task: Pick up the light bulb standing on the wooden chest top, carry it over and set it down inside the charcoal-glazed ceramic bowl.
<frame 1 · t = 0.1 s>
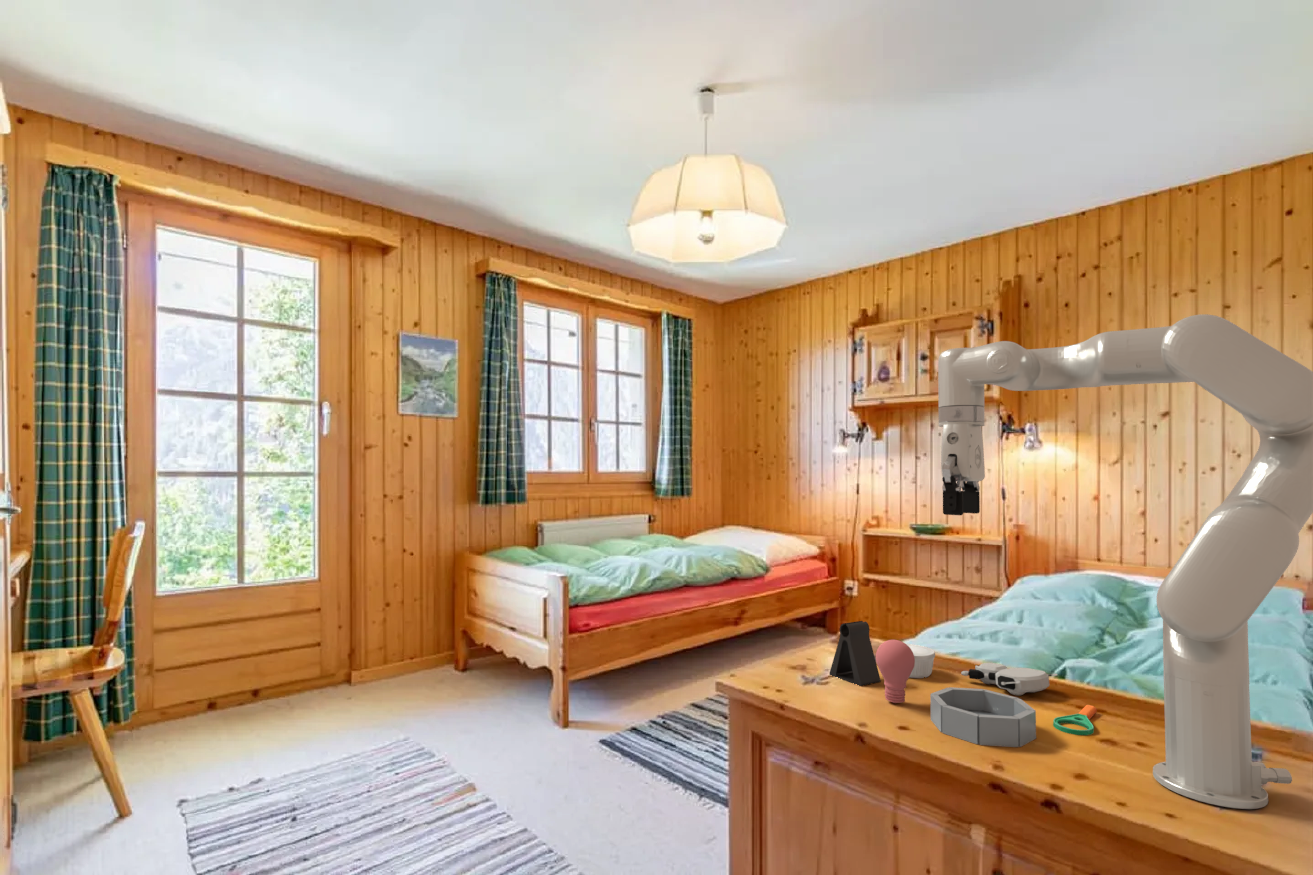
hand: (961, 513, 118), 37 cm above the table, tool pointing down, fingers open, 9 cm apart
ramekin: (908, 673, 149), on the table
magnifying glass: (1080, 725, 120), on the table
light bulb: (895, 704, 129), on the table
robot toy: (1007, 689, 139), on the table
ceramic bowl: (981, 728, 116), on the table
phone stand: (854, 679, 144), on the table
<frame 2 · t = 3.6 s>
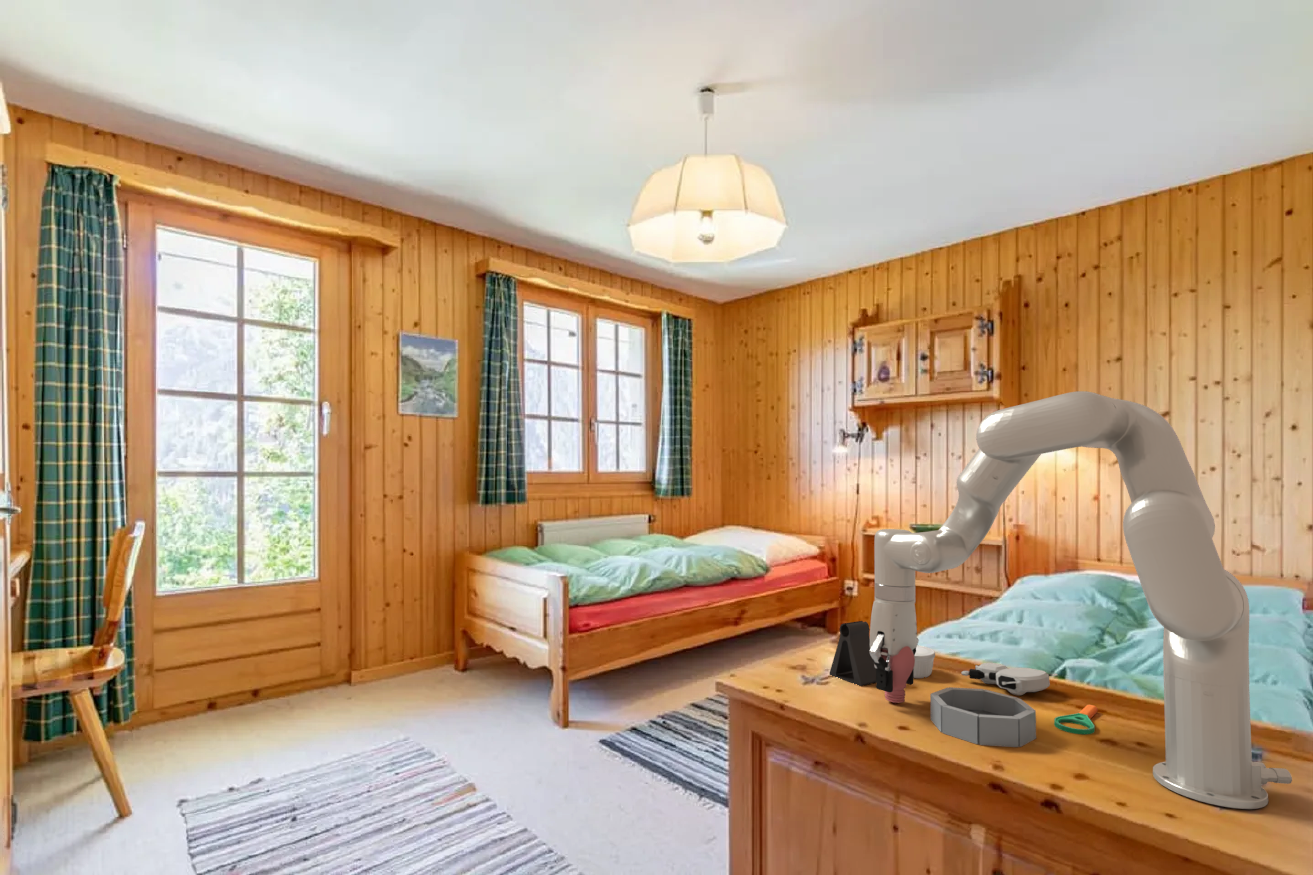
hand: (895, 685, 129), 3 cm above the table, tool pointing down, fingers closed on light bulb, 6 cm apart
light bulb: (895, 704, 129), on the table, touching gripper
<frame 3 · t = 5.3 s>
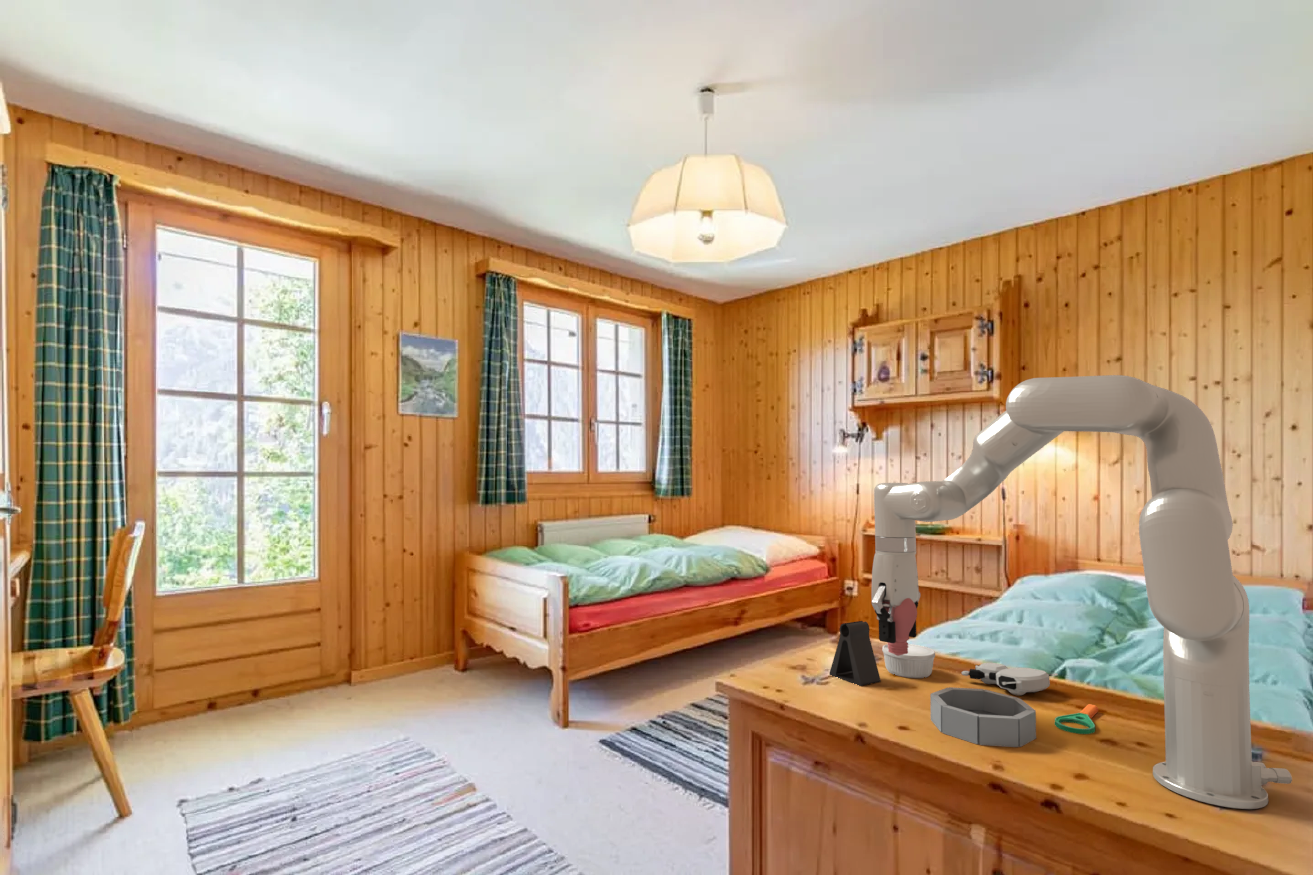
hand: (897, 638, 129), 12 cm above the table, tool pointing down, fingers closed on light bulb, 6 cm apart
light bulb: (898, 656, 129), point 9 cm above the table, touching gripper
everything else where it was.
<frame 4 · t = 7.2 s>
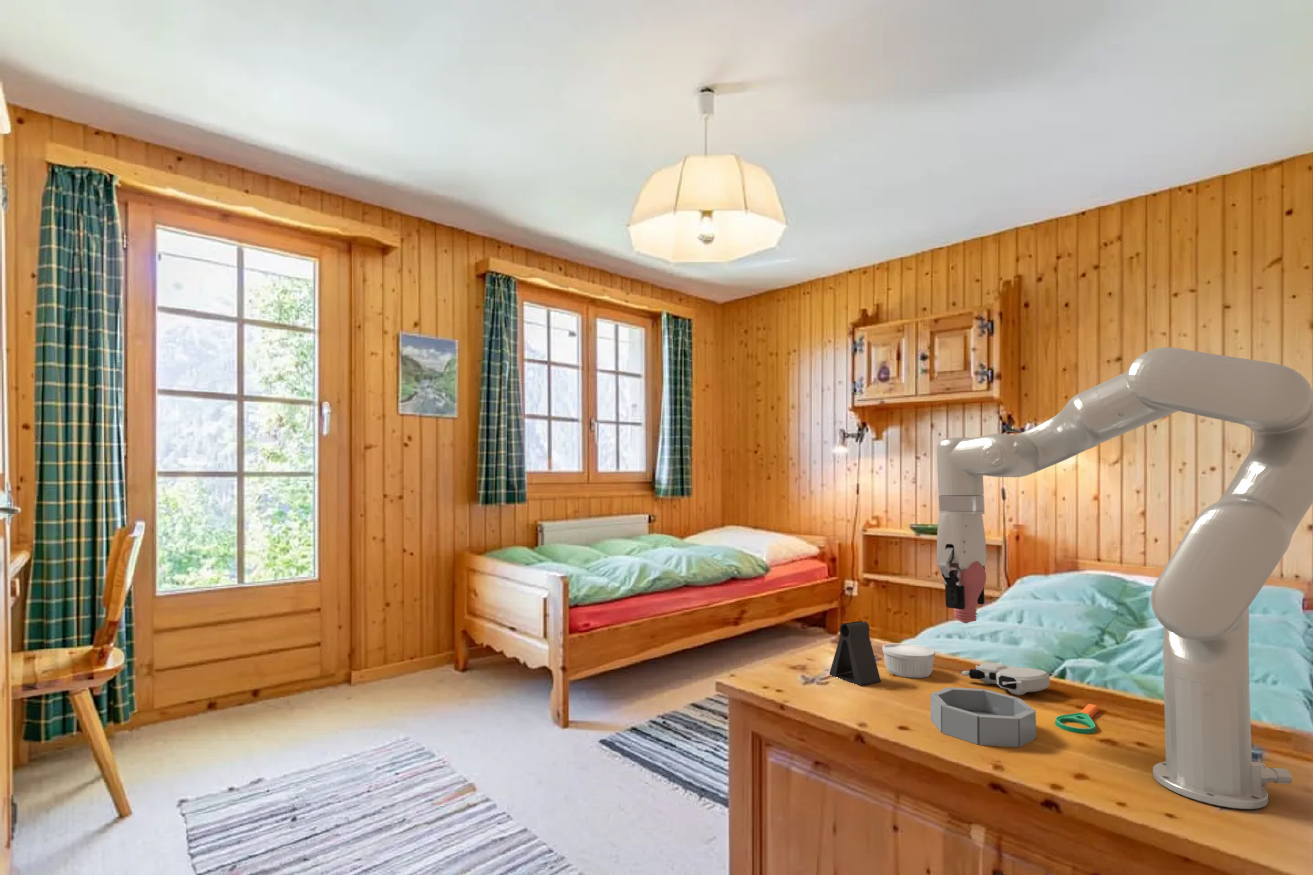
hand: (965, 604, 119), 21 cm above the table, tool pointing down, fingers closed on light bulb, 6 cm apart
light bulb: (966, 624, 119), point 17 cm above the table, touching gripper
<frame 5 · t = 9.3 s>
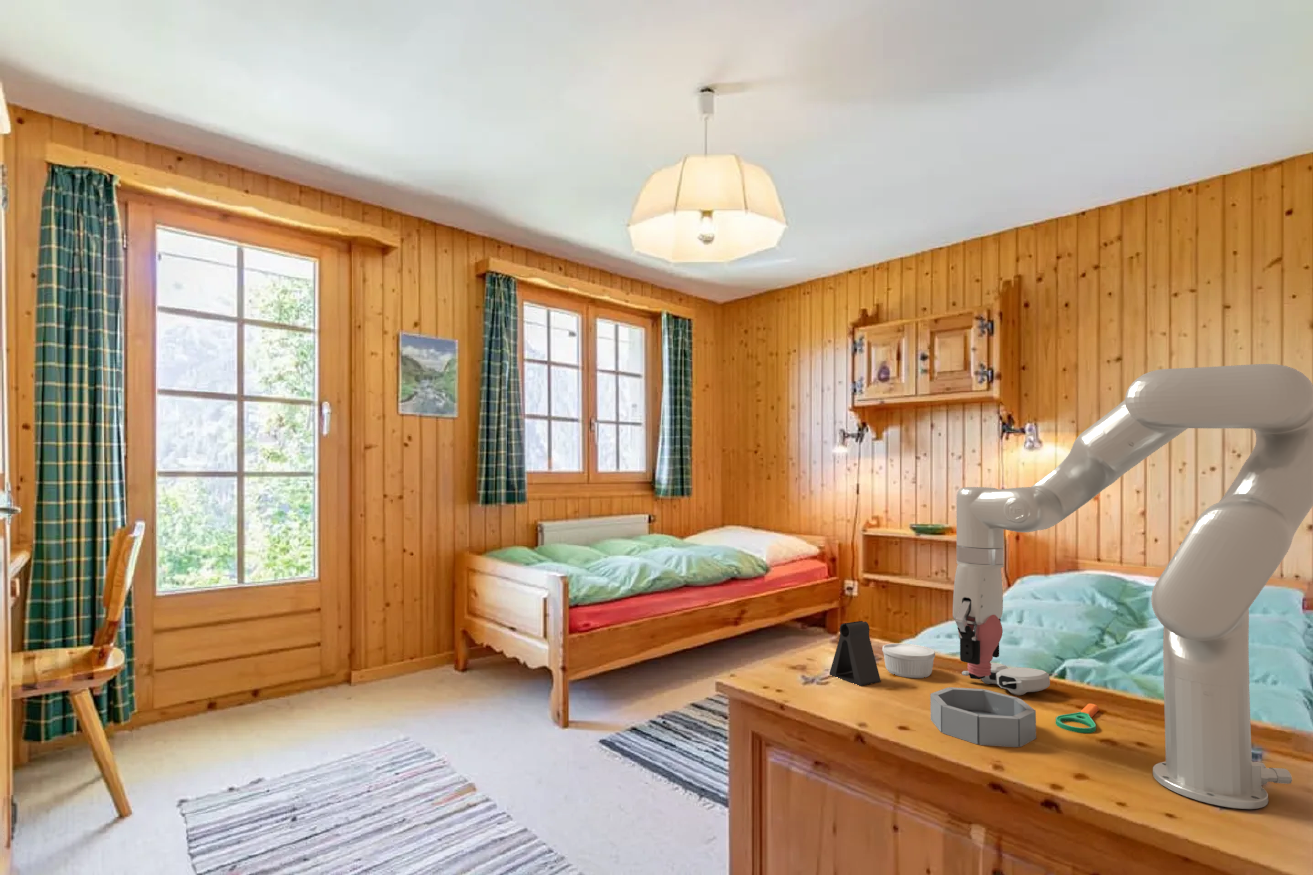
hand: (979, 658, 117), 12 cm above the table, tool pointing down, fingers closed on light bulb, 6 cm apart
light bulb: (979, 678, 117), point 9 cm above the table, touching gripper
when the fingers open (7 cm above the table, at t = 10.9 s): light bulb drops 2 cm, resting on ceramic bowl.
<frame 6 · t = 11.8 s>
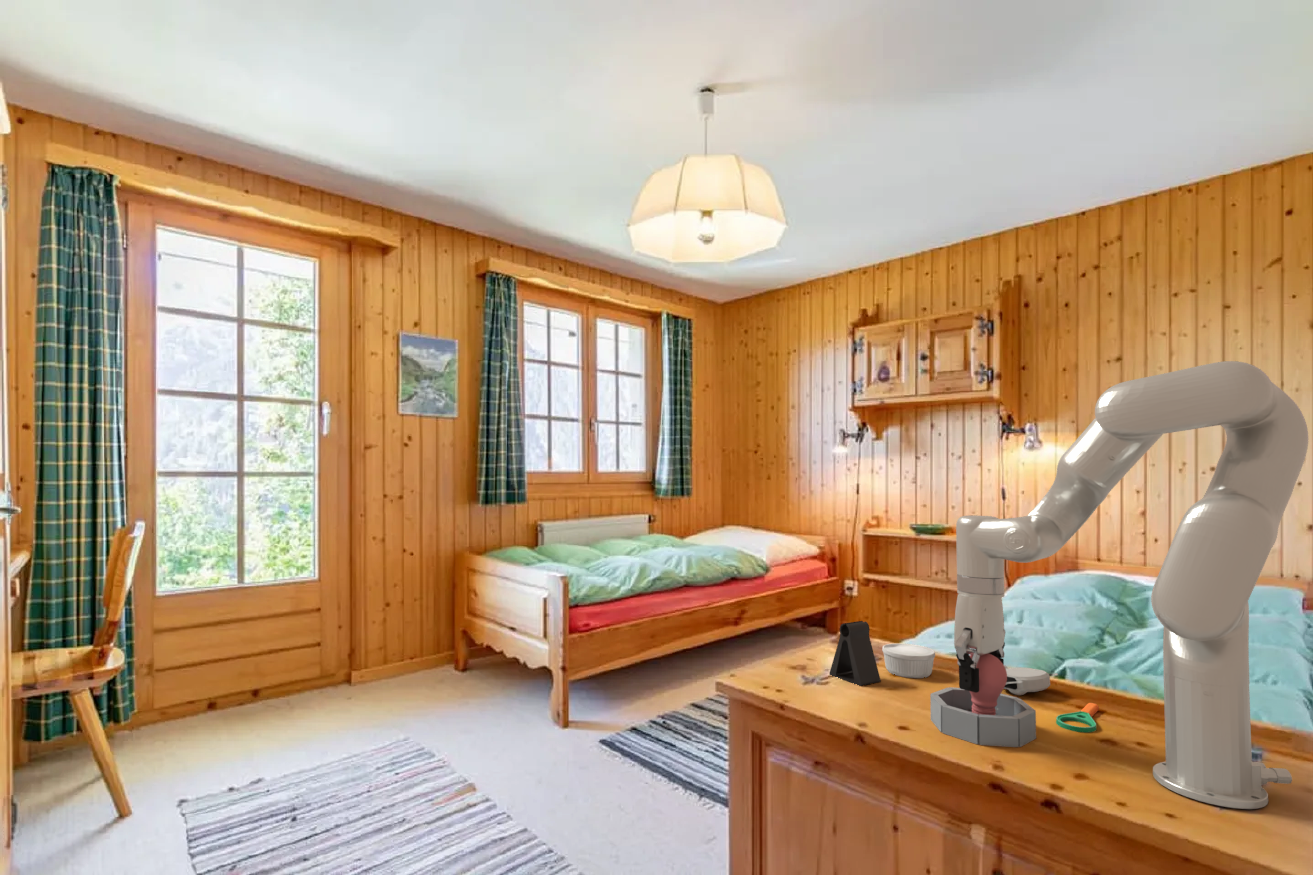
hand: (982, 684, 117), 7 cm above the table, tool pointing down, fingers open, 9 cm apart
light bulb: (984, 723, 116), point 1 cm above the table, touching ceramic bowl
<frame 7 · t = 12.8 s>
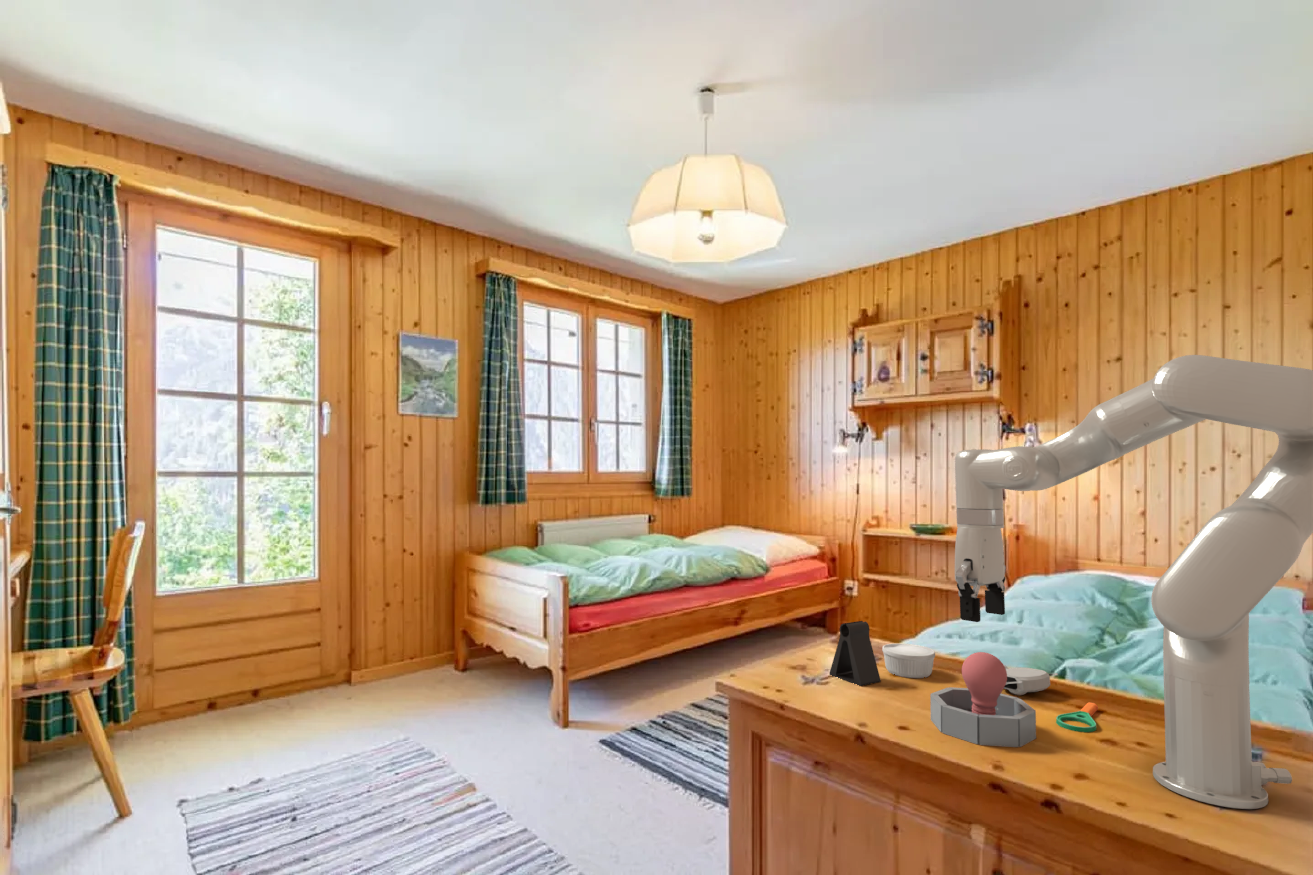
hand: (983, 617, 117), 19 cm above the table, tool pointing down, fingers open, 9 cm apart
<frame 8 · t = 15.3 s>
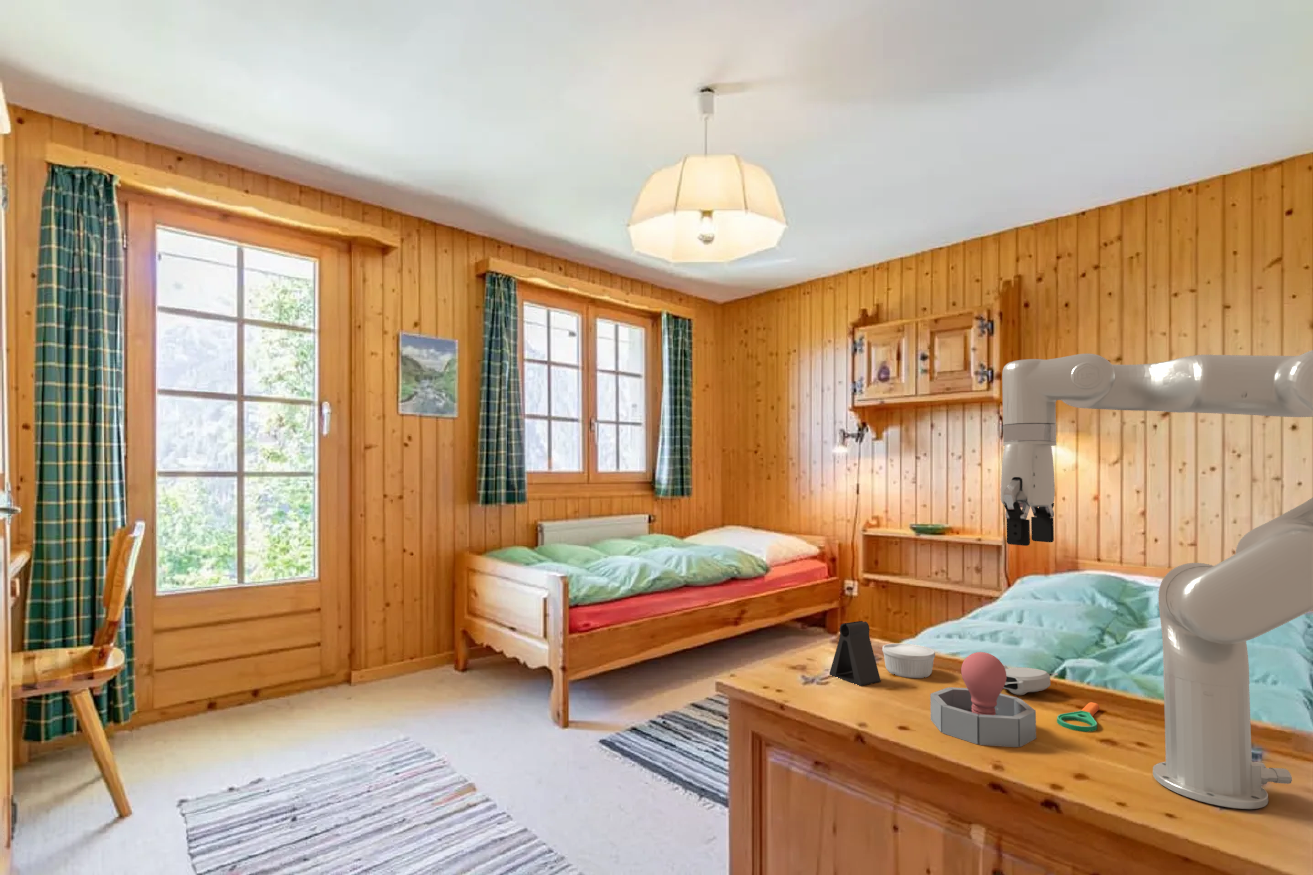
hand: (1030, 543, 107), 33 cm above the table, tool pointing down, fingers open, 9 cm apart
at the end: light bulb inside the target area on the ceramic bowl (0.4 cm from its centre), point 0.8 cm above the ceramic bowl's base; the gripper is holding nothing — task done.
